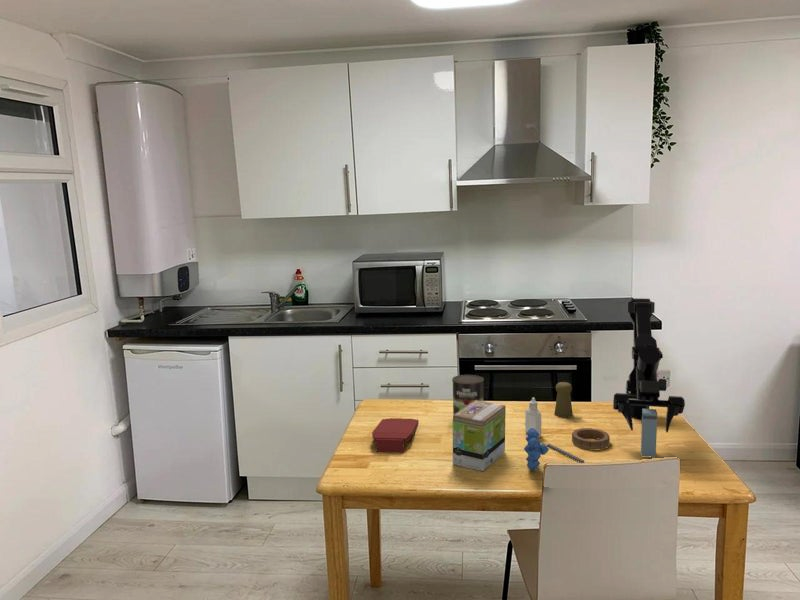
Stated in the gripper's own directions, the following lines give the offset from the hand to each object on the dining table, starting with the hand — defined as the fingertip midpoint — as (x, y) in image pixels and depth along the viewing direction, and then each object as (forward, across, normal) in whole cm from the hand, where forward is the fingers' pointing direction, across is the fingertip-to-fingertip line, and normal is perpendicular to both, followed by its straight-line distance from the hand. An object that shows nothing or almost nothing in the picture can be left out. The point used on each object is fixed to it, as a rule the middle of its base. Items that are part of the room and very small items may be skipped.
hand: (649, 430), depth 174 cm
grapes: (+16, -30, -5) cm, 34 cm away
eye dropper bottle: (-1, -32, +12) cm, 35 cm away
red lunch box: (+6, -74, +6) cm, 75 cm away
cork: (-15, -24, +26) cm, 38 cm away
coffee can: (-8, -54, +18) cm, 58 cm away
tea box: (+14, -46, -2) cm, 48 cm away
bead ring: (+1, -16, +10) cm, 18 cm away
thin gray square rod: (+8, -23, +3) cm, 24 cm away
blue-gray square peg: (+5, 0, +6) cm, 8 cm away
